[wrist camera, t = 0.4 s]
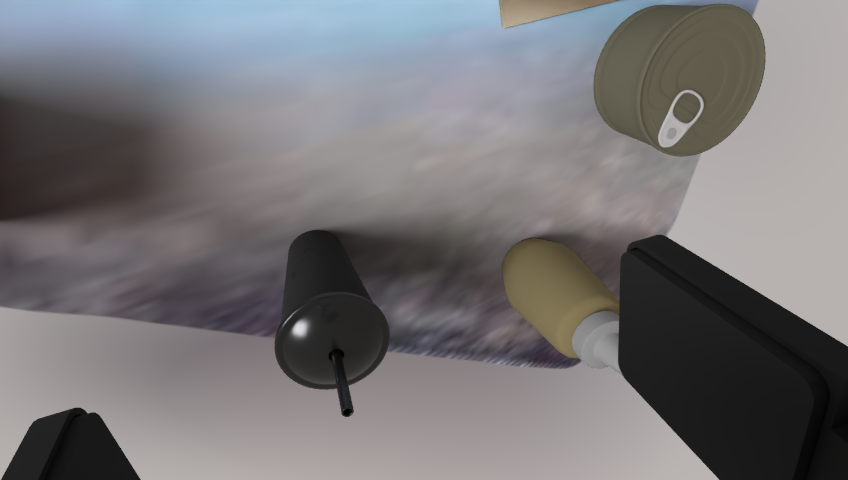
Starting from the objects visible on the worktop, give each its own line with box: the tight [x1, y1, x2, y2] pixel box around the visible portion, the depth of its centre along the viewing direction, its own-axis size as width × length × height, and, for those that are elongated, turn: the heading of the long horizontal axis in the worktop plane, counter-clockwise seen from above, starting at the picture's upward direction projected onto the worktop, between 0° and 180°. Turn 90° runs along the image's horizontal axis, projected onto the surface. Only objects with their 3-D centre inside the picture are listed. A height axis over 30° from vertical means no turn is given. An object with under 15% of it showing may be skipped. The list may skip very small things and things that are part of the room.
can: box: [594, 4, 765, 156], centre depth 45 cm, size 12×12×7 cm
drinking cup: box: [275, 230, 390, 417], centre depth 37 cm, size 8×8×20 cm
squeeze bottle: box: [502, 238, 622, 375], centre depth 45 cm, size 8×8×18 cm
